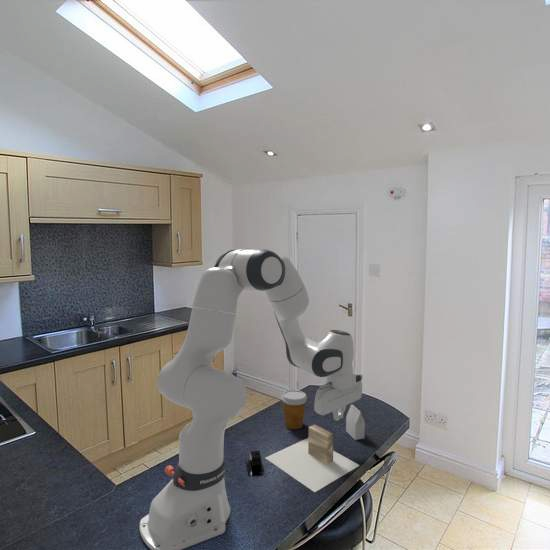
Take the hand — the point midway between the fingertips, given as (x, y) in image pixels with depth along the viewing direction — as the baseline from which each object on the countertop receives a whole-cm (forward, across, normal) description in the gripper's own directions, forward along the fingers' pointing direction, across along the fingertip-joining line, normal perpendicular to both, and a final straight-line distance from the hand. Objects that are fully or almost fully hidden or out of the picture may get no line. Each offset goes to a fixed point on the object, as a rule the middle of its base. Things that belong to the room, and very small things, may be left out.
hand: (338, 418), depth 134 cm
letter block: (+10, -9, 0) cm, 13 cm away
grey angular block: (+11, +11, +2) cm, 16 cm away
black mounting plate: (+11, -28, +9) cm, 31 cm away
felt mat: (+10, -13, 0) cm, 16 cm away
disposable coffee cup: (+11, -1, +21) cm, 23 cm away
